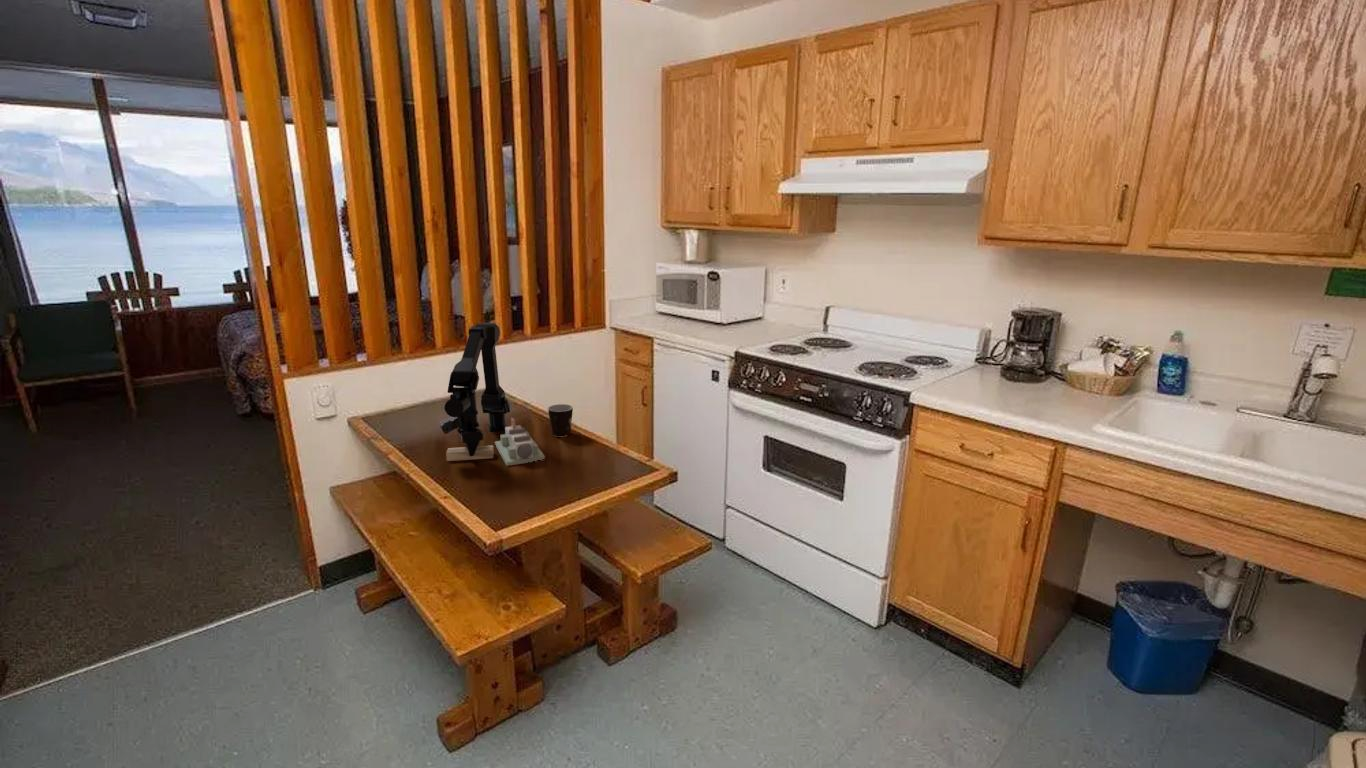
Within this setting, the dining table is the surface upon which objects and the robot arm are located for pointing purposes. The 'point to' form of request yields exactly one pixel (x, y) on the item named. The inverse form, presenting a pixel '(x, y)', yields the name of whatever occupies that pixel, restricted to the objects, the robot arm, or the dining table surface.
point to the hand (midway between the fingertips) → (470, 453)
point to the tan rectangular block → (463, 453)
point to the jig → (518, 446)
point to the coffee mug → (560, 419)
